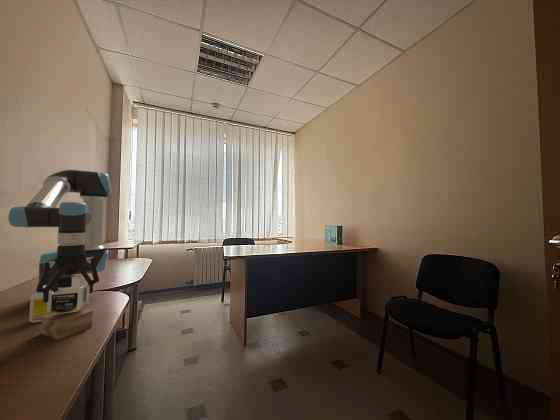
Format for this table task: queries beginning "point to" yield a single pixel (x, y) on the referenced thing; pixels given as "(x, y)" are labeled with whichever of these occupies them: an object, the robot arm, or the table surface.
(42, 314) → the supplement bottle
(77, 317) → the wooden block
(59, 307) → the medicine bottle
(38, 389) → the table surface
